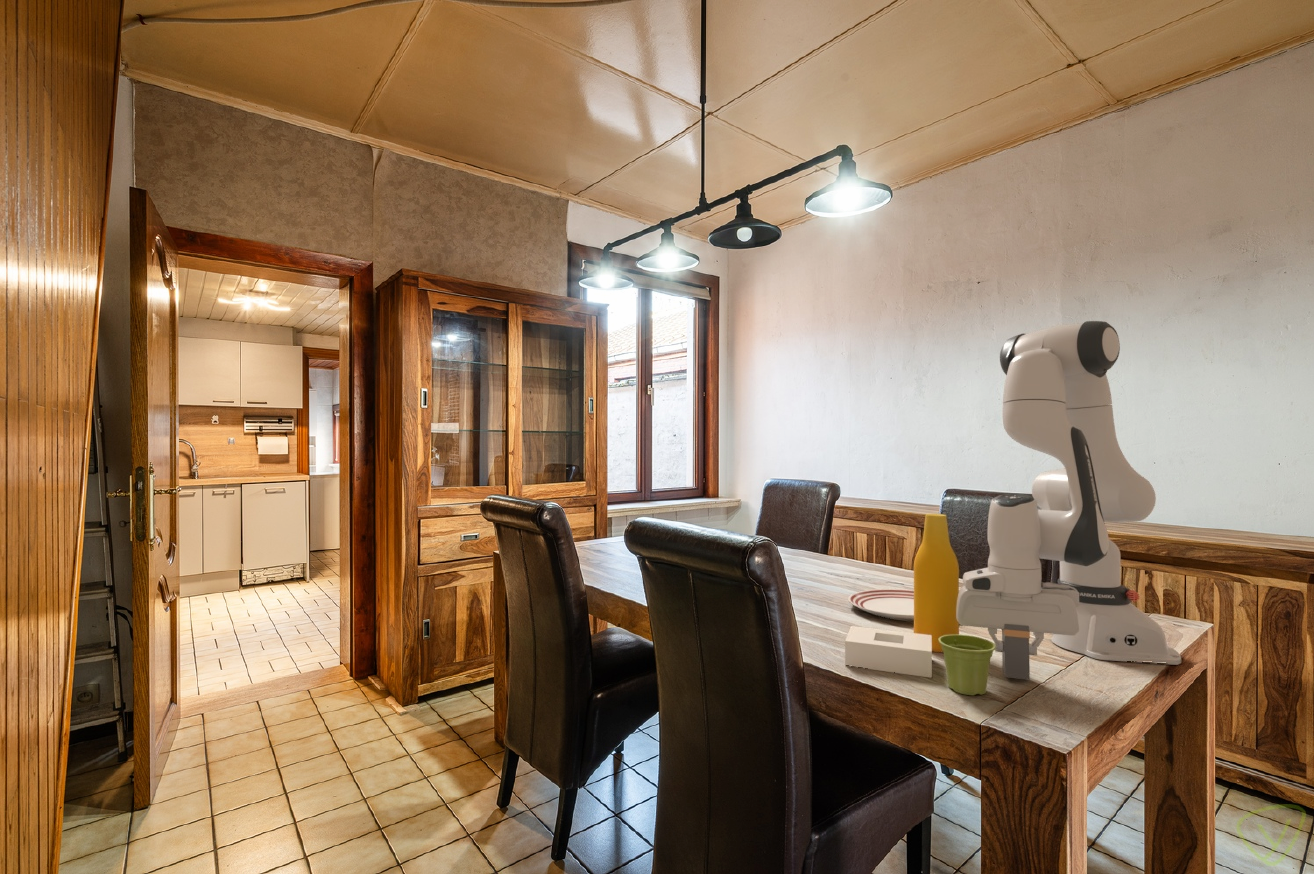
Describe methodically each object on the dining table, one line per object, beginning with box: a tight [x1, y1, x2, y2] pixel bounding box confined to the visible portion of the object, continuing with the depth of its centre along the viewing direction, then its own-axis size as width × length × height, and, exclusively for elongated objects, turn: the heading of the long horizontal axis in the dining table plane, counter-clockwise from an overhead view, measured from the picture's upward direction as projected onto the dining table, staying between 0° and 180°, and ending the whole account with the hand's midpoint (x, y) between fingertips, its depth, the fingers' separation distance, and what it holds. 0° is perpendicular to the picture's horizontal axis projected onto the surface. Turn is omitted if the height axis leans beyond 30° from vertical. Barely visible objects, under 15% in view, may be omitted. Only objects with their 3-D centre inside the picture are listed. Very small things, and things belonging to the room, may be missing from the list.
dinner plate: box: [847, 588, 914, 622], centre depth 165 cm, size 27×27×3 cm
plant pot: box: [938, 634, 996, 696], centre depth 114 cm, size 9×9×9 cm
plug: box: [1000, 624, 1031, 681], centre depth 118 cm, size 4×4×10 cm
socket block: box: [844, 625, 933, 679], centre depth 127 cm, size 16×11×5 cm
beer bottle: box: [913, 513, 960, 653], centre depth 137 cm, size 9×9×29 cm
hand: (1015, 652), depth 118 cm, fingers closed on plug, 4 cm apart
